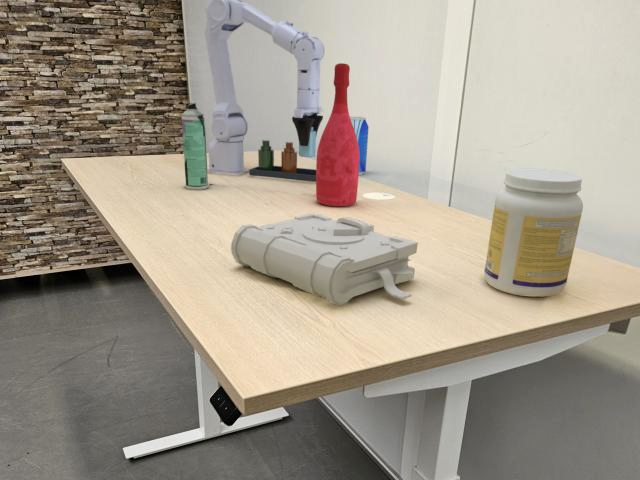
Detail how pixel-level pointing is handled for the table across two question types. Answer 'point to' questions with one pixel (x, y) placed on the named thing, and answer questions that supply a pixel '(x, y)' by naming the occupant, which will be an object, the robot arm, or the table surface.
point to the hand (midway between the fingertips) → (307, 144)
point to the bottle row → (286, 158)
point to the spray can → (194, 148)
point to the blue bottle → (309, 146)
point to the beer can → (361, 140)
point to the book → (327, 256)
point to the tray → (286, 174)
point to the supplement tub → (534, 232)
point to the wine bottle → (338, 150)
